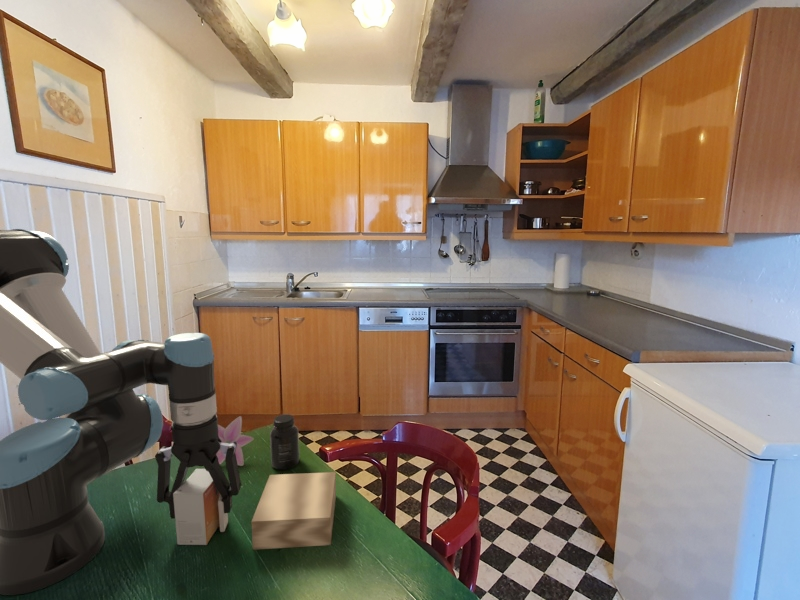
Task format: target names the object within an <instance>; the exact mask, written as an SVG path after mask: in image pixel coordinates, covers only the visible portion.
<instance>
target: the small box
mask: <svg viewBox="0 0 800 600" xmlns="http://www.w3.org/2000/svg"><path fill="white" fill-rule="evenodd" d="M188 476H189V475H188ZM220 496H221V495H220V493H219V491H218V489H217V487H216V485H215V483H214V481H213V479H212V478H211V476H210V474H209V472H208V471H206V469H205V468H195V470H193V471H192V473H191V474H190V476H189V477H187V479H185V480H184V483H183V484H182V485H181V486H180V487H179V488H178V489H177V490H176V491H175V492H174V493H173V498H174V510H175V519H174V521H175V533H176V542H177V545H180V546H181V545H182V546H184V545H185V546H207V545H208V543H209V541H210V540H211V538H212V537H213V536H214V534H215V532H216V531H217V529H218V528H220V521H219V507H218V500H219V498H220Z"/></svg>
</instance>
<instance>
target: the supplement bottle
mask: <svg viewBox="0 0 800 600" xmlns="http://www.w3.org/2000/svg"><path fill="white" fill-rule="evenodd" d="M294 419H295V418H294V416H293V415H292V414H288V413H287V414H280V415H277V416H275V417H274V418H273V428H272V429H271V431H270V433H269V441H270V460H271V461H270V463H271V466H272V467H273V468H274V469H275V470H279V471H280V470H281V471H287V470H291V469H293V468H295V466H298V464H299V462H300V440H299V439H300V437H299V436H300V435H299V428H298V426H296V425H295V420H294Z"/></svg>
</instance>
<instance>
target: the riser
mask: <svg viewBox="0 0 800 600" xmlns="http://www.w3.org/2000/svg"><path fill="white" fill-rule="evenodd" d="M336 475H337V474H336V471H332V472H330V471H328V472H310V473H309V472H308V473H305V472H304V473H283V474H282V473H281V474H280V473H279V474H269V476H268V479H267V481H266V483H265V486H264V489H263V491H262V493H261V496H260V499H259V501H258V504H257V507H256V509H255V511H254V514H253V517H252V519H251V522H250V523H251V538H252V541H251V543H252V550H270V549H287V548H302V547H304V548H305V547H316V546H317V547H319V546H320V547H321V546H331V544H332V535H333V526H334V518H335V517H334V516H335V508H336V498H337V481H336V478H337V477H336Z"/></svg>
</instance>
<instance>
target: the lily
mask: <svg viewBox="0 0 800 600" xmlns="http://www.w3.org/2000/svg"><path fill="white" fill-rule="evenodd" d="M242 425H243V417H242V416H241V415H240V416H238V417H236V418H235V419H234V420H233V421H231V422H229V424H228V425H227V426H226V427H223V425H220V424H218V436H219V438H220V440H221V441H222V443H229V444H230V443H231V442H233V441H235V442H236V443H237V446H236V451H235V454H236V459H237V464H238V467H239V466H240V467H242V466H244V463H245V462H244V461H245V460H244V454H243V449H242V447H244V446H246V445H248V444H249V443H251V442H252V441H254V439H255V438H254V437H252V436H250V435H246V434H245V435H244V434H242V427H243V426H242ZM216 455H217V457H218V462H219V464H220V465H221V464H222V463H224V461H225V458H226V456H223V452H222V451H221V450H219V451H218V452H217V454H216Z"/></svg>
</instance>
